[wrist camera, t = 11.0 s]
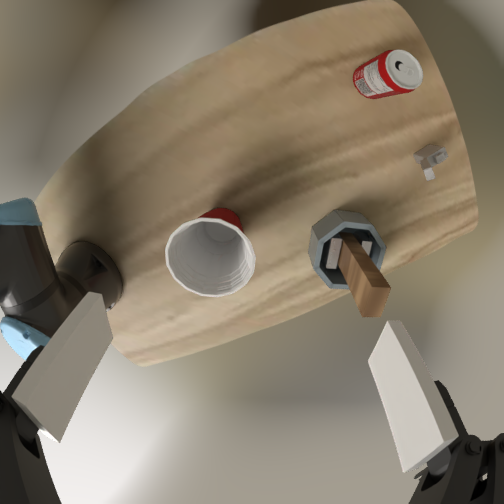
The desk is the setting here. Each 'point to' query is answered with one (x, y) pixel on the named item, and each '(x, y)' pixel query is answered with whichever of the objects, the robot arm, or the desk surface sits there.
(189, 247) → the plastic cup
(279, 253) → the desk surface
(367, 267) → the brown wooden block
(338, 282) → the grey faceted bowl
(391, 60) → the soda can
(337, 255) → the clip
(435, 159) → the lighter
